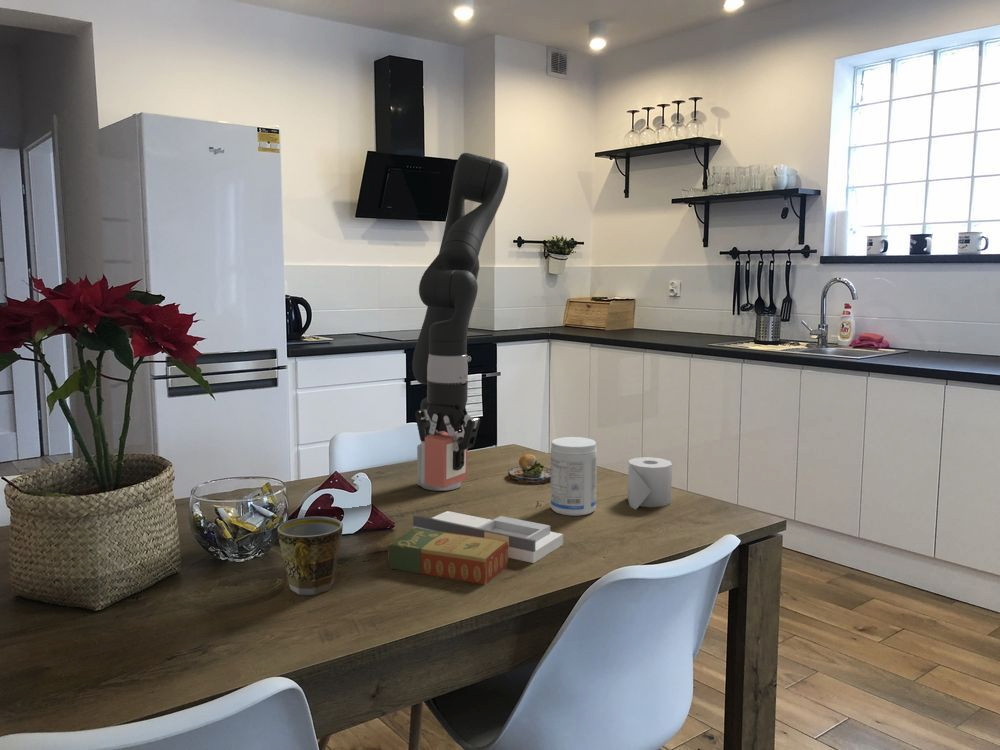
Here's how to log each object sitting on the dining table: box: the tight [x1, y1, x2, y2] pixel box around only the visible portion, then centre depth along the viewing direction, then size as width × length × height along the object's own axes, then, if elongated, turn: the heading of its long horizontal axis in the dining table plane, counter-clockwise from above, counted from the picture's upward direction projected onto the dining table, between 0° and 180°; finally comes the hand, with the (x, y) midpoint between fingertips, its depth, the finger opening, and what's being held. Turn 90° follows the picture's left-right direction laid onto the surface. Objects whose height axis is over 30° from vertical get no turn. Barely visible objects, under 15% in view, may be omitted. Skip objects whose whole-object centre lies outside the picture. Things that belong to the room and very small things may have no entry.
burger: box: [507, 450, 551, 485], centre depth 194 cm, size 12×12×8 cm
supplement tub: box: [550, 436, 598, 517], centre depth 168 cm, size 10×10×15 cm
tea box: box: [424, 431, 469, 488], centre depth 152 cm, size 5×8×9 cm, turn 147°
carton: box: [387, 528, 509, 586], centre depth 137 cm, size 10×18×5 cm, turn 66°
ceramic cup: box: [277, 516, 344, 596], centre depth 126 cm, size 13×10×10 cm
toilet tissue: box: [627, 456, 673, 510], centre depth 173 cm, size 9×13×9 cm
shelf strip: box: [412, 510, 564, 564], centre depth 150 cm, size 26×11×4 cm, turn 58°
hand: (446, 466), depth 152 cm, fingers closed on tea box, 4 cm apart
